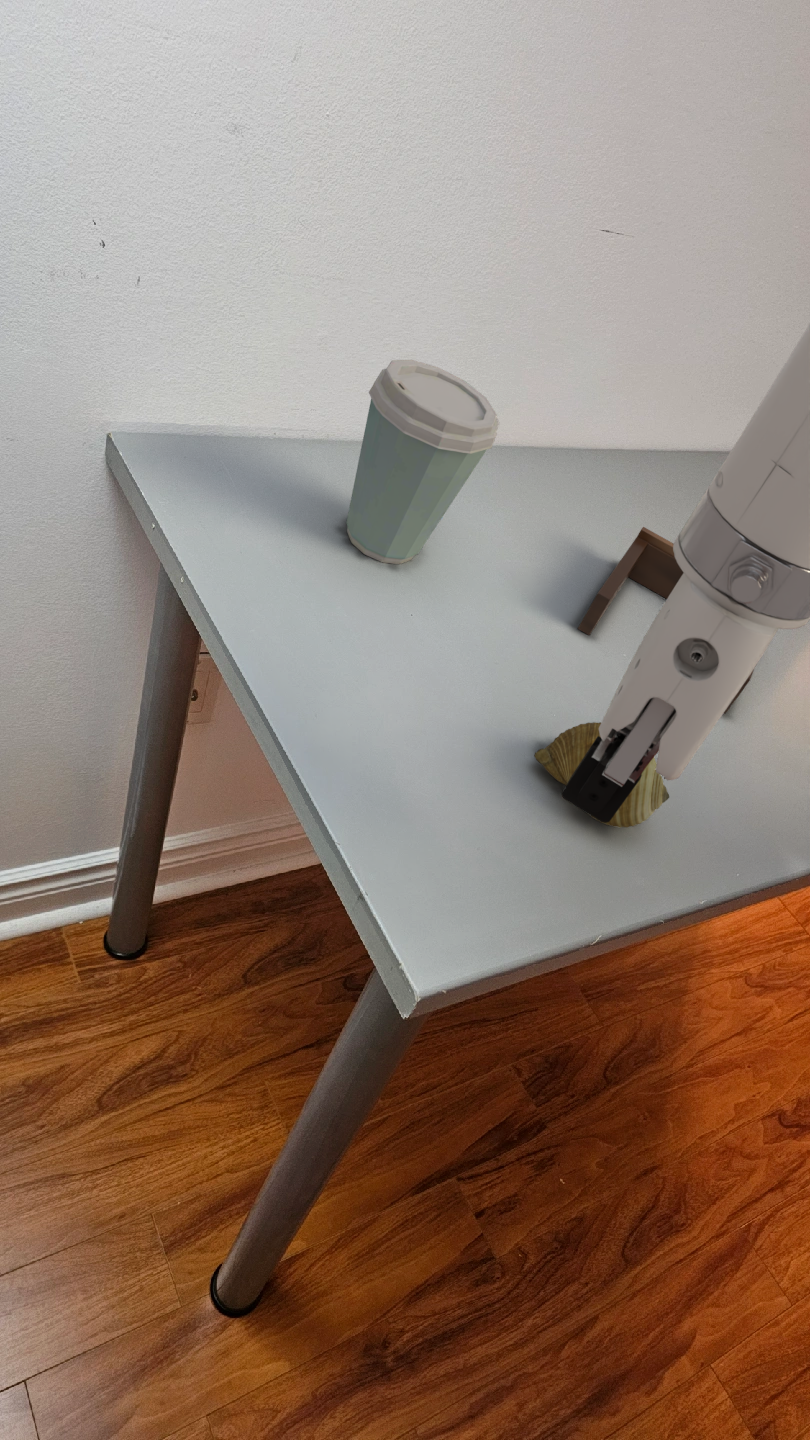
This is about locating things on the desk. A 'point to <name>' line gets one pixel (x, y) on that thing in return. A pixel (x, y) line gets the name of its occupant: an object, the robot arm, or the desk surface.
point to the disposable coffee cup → (415, 457)
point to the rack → (640, 577)
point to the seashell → (569, 754)
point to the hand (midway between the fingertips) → (587, 802)
